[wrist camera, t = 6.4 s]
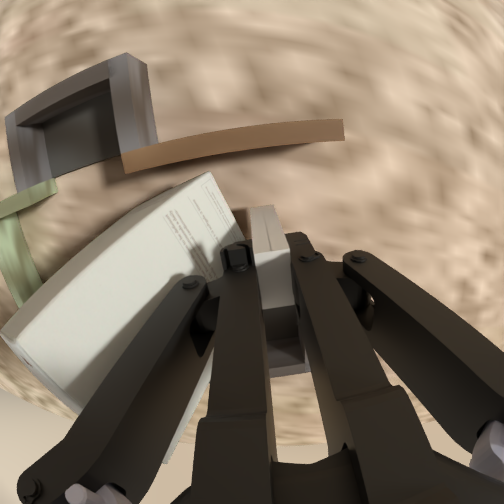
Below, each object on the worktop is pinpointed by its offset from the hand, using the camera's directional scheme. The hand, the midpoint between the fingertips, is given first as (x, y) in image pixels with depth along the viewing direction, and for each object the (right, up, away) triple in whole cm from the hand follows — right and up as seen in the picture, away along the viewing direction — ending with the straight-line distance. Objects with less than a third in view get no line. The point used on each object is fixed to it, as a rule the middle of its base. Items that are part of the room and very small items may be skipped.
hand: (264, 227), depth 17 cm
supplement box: (-4, -1, +1) cm, 5 cm away
